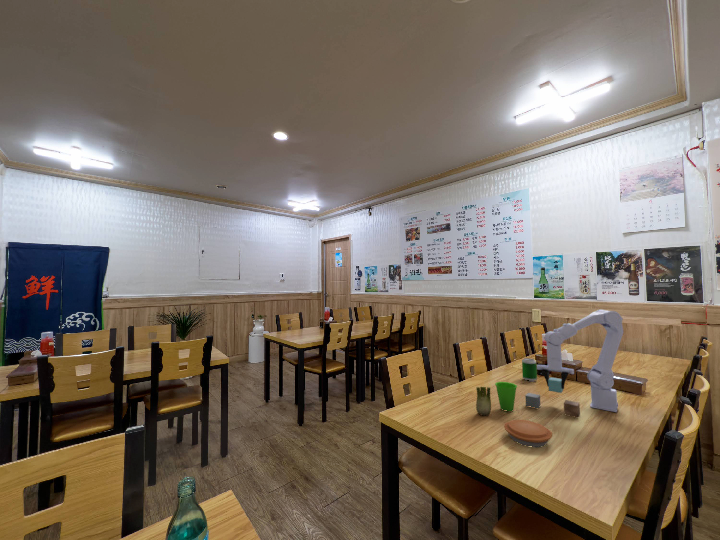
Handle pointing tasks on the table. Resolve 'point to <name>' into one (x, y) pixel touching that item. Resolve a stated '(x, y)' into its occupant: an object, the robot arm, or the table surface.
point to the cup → (506, 395)
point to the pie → (528, 433)
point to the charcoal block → (532, 400)
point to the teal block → (555, 385)
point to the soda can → (529, 369)
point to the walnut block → (571, 408)
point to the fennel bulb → (483, 401)
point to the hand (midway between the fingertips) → (555, 387)
